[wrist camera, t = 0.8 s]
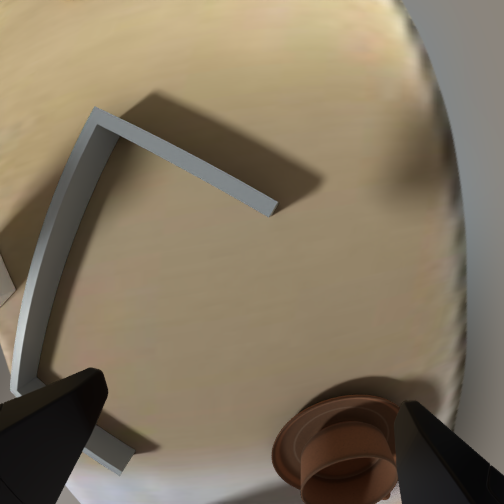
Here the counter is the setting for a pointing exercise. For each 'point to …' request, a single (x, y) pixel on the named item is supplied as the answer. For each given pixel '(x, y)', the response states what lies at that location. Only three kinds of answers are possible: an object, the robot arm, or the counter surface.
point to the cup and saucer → (340, 451)
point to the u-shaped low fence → (61, 238)
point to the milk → (5, 283)
